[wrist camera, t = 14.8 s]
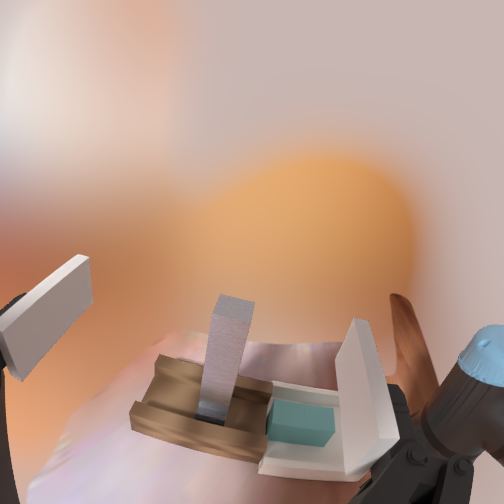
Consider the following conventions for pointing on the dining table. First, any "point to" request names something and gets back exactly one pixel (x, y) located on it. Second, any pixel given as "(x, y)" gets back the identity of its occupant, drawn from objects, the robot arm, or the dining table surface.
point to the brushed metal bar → (223, 357)
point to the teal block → (285, 421)
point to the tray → (302, 456)
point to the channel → (185, 406)
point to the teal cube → (317, 426)
